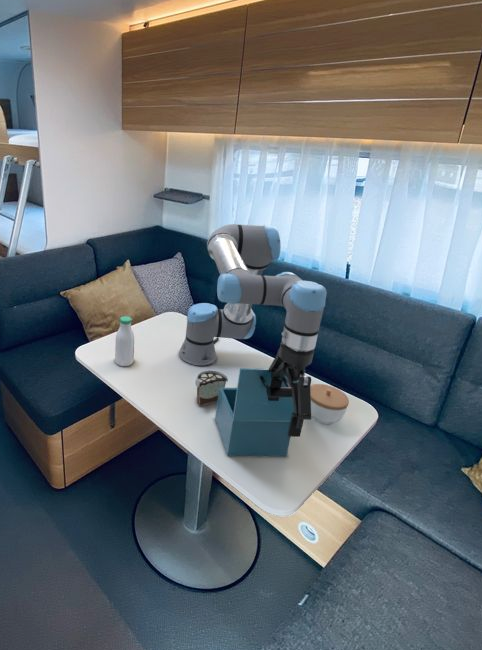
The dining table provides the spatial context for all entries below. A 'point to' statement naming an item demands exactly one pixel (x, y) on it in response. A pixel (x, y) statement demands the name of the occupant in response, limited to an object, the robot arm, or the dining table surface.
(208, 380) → the food container
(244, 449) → the box
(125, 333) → the milk bottle
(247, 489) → the dining table surface
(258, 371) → the freezer lid
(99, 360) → the dining table surface
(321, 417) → the lidded bowl
